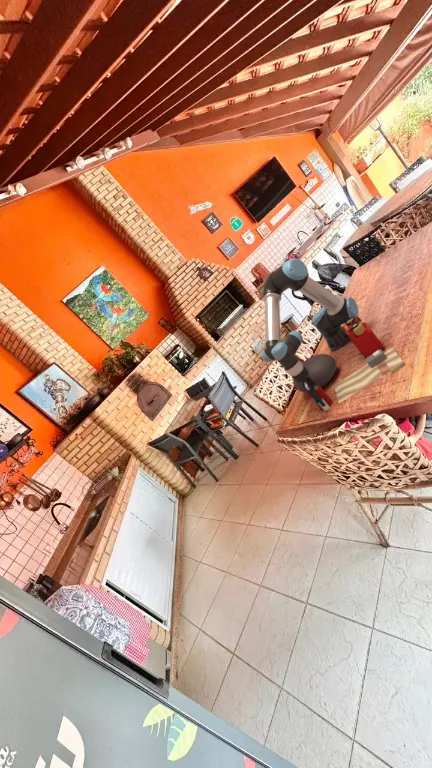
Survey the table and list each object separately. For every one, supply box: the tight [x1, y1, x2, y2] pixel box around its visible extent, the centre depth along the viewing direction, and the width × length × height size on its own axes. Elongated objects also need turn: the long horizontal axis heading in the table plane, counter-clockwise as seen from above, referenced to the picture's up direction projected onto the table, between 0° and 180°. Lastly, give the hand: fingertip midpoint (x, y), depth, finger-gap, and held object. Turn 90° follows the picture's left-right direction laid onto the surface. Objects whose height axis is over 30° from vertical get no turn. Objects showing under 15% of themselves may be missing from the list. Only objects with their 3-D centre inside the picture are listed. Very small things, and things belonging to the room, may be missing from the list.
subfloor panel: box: [333, 347, 406, 404], centre depth 177 cm, size 18×32×1 cm, turn 77°
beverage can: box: [308, 385, 334, 411], centre depth 180 cm, size 7×7×12 cm
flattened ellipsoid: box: [292, 353, 337, 393], centre depth 203 cm, size 25×25×15 cm
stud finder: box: [365, 349, 387, 368], centre depth 178 cm, size 5×8×4 cm, turn 77°
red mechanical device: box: [342, 316, 385, 360], centre depth 190 cm, size 16×10×20 cm, turn 168°
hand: (327, 406), depth 182 cm, fingers open, 7 cm apart
